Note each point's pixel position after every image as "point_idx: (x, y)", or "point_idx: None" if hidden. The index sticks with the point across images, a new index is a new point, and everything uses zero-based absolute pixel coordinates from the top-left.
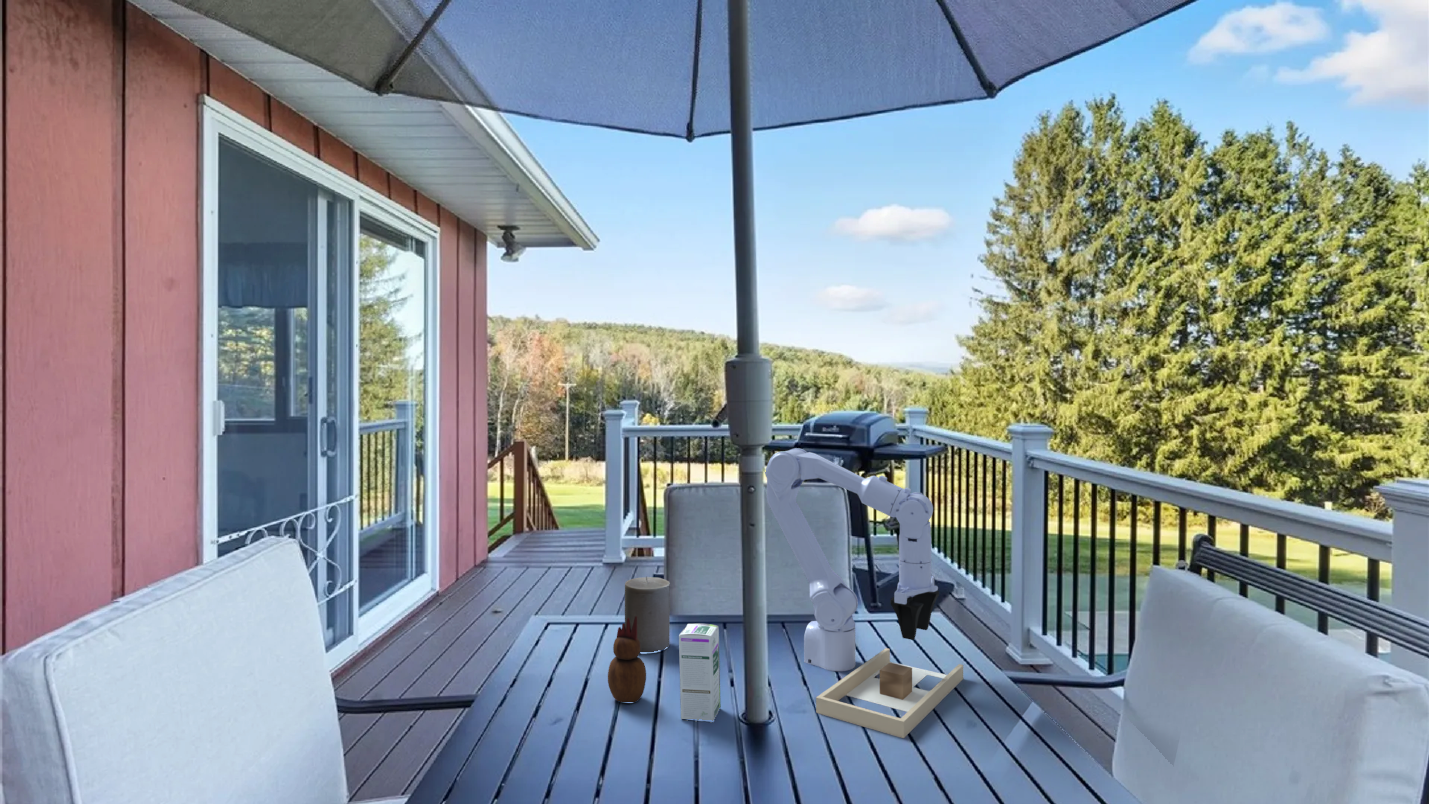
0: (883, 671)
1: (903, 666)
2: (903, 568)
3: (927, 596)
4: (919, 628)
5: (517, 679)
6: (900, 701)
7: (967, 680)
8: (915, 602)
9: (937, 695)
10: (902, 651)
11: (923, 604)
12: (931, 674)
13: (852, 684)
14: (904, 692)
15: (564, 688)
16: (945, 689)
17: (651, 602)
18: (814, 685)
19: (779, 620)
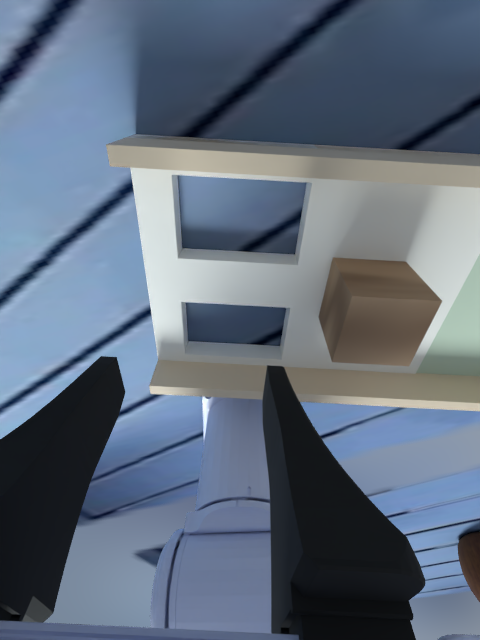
0: (414, 355)
1: (351, 321)
2: None
3: (5, 550)
4: (120, 382)
5: (442, 588)
6: (419, 263)
7: (69, 137)
8: (317, 592)
9: (426, 159)
10: (31, 356)
11: (54, 490)
12: (168, 247)
13: (383, 381)
14: (399, 268)
15: (455, 568)
16: (333, 153)
17: None
18: (334, 421)
19: (91, 521)
